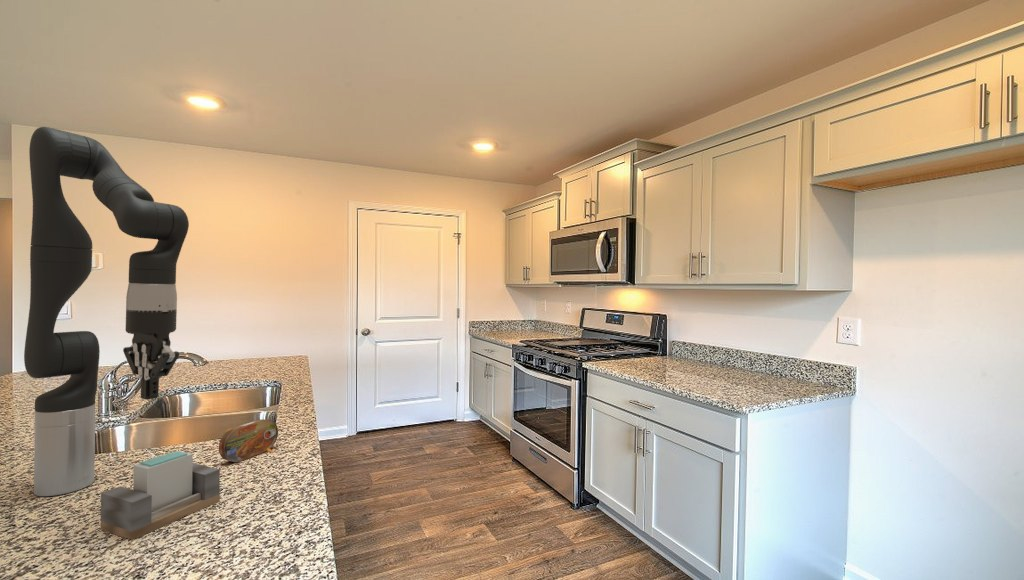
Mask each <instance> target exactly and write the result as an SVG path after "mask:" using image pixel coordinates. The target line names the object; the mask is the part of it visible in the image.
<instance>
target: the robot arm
mask: <svg viewBox="0 0 1024 580" xmlns="http://www.w3.org/2000/svg"><path fill="white" fill-rule="evenodd" d="M28 153H29V170H30V180H31V181H30V183H31V195H32V197H31V198H32V217H31V218H32V219H31V220H32V221H31V235H30V236H31V237H30V247H29V248H30V252H29V253H30V254H29V257H30V258H29V260H30V263H29V266H30V286H29V287H30V295H29V296H30V299H29V309H28V318H27V327H26V335H25V341H24V351H23V356H24V357H23V362H24V367H25V371H26V373H27V374H28V375H29V377H31V378H33V379H45V378H46V379H49V378H54V377H63V376H69V378H68V380H66V381H65V382H63V383H62V384H61V385H59V386H57V387H55V388H53V389H50V390H48V391H46V392H44V393H42V394H39V395H38V396H37V397H36V398H35V400H34V443H33V444H34V445H33V451H34V454H33V455H34V456H33V457H34V458H33V462H34V463H33V494H34V495H35V496H37V497H52V496H60V495H65V494H69V493H72V492H76V491H79V490H81V489H85V488H86V487H89V486H90V485H92V484H93V483H94V482H95V464H96V463H95V459H96V458H95V457H96V455H95V454H96V453H95V450H96V447H95V446H96V445H95V444H96V442H95V441H96V439H95V438H96V397H97V391H98V377H99V365H100V353H101V352H100V343H99V340H98V339H99V338H98V337H97V335H96V334H95V333H94V332H92V331H88V330H75V331H62V332H60V331H59V332H55V326H56V323H57V319H58V316H59V314H60V312H61V310H62V309H63V307H64V306H65V304H66V303H67V302H68V301H69V300H70V299H71V298H72V296H74V294H75V293H76V292H77V291H78V290H79V289H80V288H81V287H82V285H83V284H84V283H85V282H86V280H87V279H88V277H90V274H91V272H92V269H93V264H92V263H93V240H92V237H91V235H90V234H89V232H88V230H87V229H86V228H85V226H84V225H83V223H82V222H81V221H80V220H79V218H78V217H77V216H76V214H75V213H74V211H73V210H72V209H71V207H70V205H69V203H67V201H66V198H65V195H64V193H63V191H64V190H63V188H62V183H61V177H67V178H71V179H78V180H89V181H92V186H91V187H92V190H93V194H94V196H95V197H96V199H97V200H98V201H99V202H100V203H101V204H102V205H103V206H105V207H106V208H107V209H108V210H109V211H110V212H112V215H113V216H114V218H115V221H116V224H117V226H118V228H119V230H120V231H121V232H123V233H124V234H126V235H128V236H131V237H133V238H137V239H149V240H157V242H156V244H155V246H154V247H153V248H152V249H150V250H144V251H137V252H133V253H131V255H130V257H129V260H128V286H127V290H126V296H125V298H126V301H125V332H126V333H127V334H129V335H133V337H132V338H131V345H130V346H127V347H126V346H125V347H123V351H122V352H123V354H124V357H125V359H126V361H127V363H128V366H129V368H130V370H131V372H132V375H134V376H138V379H139V380H140V399H143V400H153V399H157V398H158V397H159V392H160V391H159V389H160V379H161V378H162V377H166V376H168V375H169V374H170V372H171V370H172V369H173V366H175V363H176V362H177V360H178V359H179V356H180V352H179V351H176V350H175V351H173V350H172V348H171V342H172V341H171V340H170V339H171V338H170V334H171V333H174V332H176V330H177V315H178V314H177V311H178V309H177V308H178V292H177V284H176V283H177V263H178V260H179V257H180V254H181V251H182V247H183V245H184V242H185V240H186V238H187V235H188V231H189V227H190V225H189V224H190V223H189V219H188V218H189V217H188V215H187V214H186V211H185V210H184V209H183V208H182V207H180V206H178V205H176V204H175V205H174V204H170V203H165V202H164V203H163V202H157V201H155V199H154V197H153V196H152V194H151V193H150V192H149V191H148V190H147V189H146V188H145V187H143V186H142V185H140V183H138V182H137V181H135V180H134V179H133V178H131V177H130V176H129V175H128V174H127V173H126V172H125V170H123V168H122V167H121V166H120V164H119V163H118V162H117V160H115V157H113V155H112V154H111V153H110V152H109V150H108V149H107V148H106V147H105V146H104V145H103V144H102V143H101V142H100V141H98V140H96V139H94V138H91V137H88V136H85V135H81V134H78V133H77V134H76V133H74V132H73V133H72V132H69V131H67V130H66V131H65V130H61V129H57V128H55V127H54V128H53V127H49V126H48V127H47V126H39V127H37V128H36V129H34V131H33V133H32V135H31V138H30V141H29V151H28Z"/></svg>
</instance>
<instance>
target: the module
mask: <svg viewBox="0 0 1024 580" xmlns="http://www.w3.org/2000/svg"><path fill="white" fill-rule="evenodd" d="M193 455H194V454H193V453H190V452H186V451H181V450H178V451H177V450H175V451H172V452H169V453H166V454H163V455H159V456H156V457H153V458H150V459H147V460H143V461H140V462H139V463H137V464H133V477H132V479H133V481H132V482H133V483H132V484H133V485H132V486H133V487H132V488H133V489H132V490H135V491H139V492H142V493H146V494H149V495H152V512H153V511H156V510H158V509H160V508H163V507H165V506H168V505H170V504H172V503H175V502H177V501H180V500H182V499H185V498H187V497H189V496H192V467H193V463H194V461H193V458H194V456H193Z"/></svg>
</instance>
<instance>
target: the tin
mask: <svg viewBox="0 0 1024 580" xmlns="http://www.w3.org/2000/svg"><path fill="white" fill-rule="evenodd" d="M228 429H229V430H228ZM228 429H227V430H228V431H227V430H226V431H227V432H226V431H225V432H226V433H225V432H224V433H225V434H222V436H221V438H220V439H219V442H218V453H219V456H220V457H221V458H222V459H223V460H225V461H228V462H231V463H240V462H242V461H245V460H248V459H250V458H253V457H255V456H258V455H261V454H263V453H265V452H266V451H267V449H268V448H269V449H270V450H271V449H272V448H273V446H274V445H275V444H276V442H277V439H278V437H279V428H278V425H277V424H276V422H275V421H274V420H272V419H267V418H266V419H257V420H254V421H251V422H248V423H247V422H246V423H244V424H241V425H237V426H235V427H234V426H233V427H231V429H230V428H228ZM266 453H267V452H266Z"/></svg>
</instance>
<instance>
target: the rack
mask: <svg viewBox="0 0 1024 580" xmlns="http://www.w3.org/2000/svg"><path fill="white" fill-rule="evenodd" d="M220 480H221V469H220V468H215V467H212V466H208V465H204V464H200V463H199V464H198V463H195V462H193V467H192V496H189V497H187V498H185V499H182V500H180V501H177V502H175V503H172V504H170V505H168V506H165V507H163V508H160V509H158V510H156V511H153V512H152V495H149V494H146V493H142V492H139V491H135V490H133V489H132V488H128V487H125V486H118V487H115V488H112V489H108V490H106V491H103V492H100V530H101V529H102V530H101V531H104V532H106V533H110V534H113V535H115V536H119V537H121V538H123V539H126V538H128V539H127V540H129V539H131V540H130V541H134V540H136V539H139V538H140V537H143V536H145V535H147V534H149V533H151V531H152V532H153V531H156V530H158V529H160V528H162V527H163V528H164V527H165V526H167V525H169V523H170V524H172V523H174V522H176V521H178V519H179V520H180V518H181V519H183V518H185V517H187V516H190V515H192V514H194V513H196V512H199V511H200V509H201V510H202V509H205V508H207V506H208V507H210V506H212V505H214V504H216V503H219V502H220V489H221V488H220V485H221V484H220V483H221V481H220ZM209 505H210V506H209ZM198 510H199V511H198ZM193 512H194V513H193ZM191 513H192V514H191ZM189 514H190V515H189ZM186 515H187V516H186ZM184 516H185V517H184ZM182 517H183V518H182ZM171 522H172V523H171ZM135 538H136V539H135ZM133 539H134V540H133Z"/></svg>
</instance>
